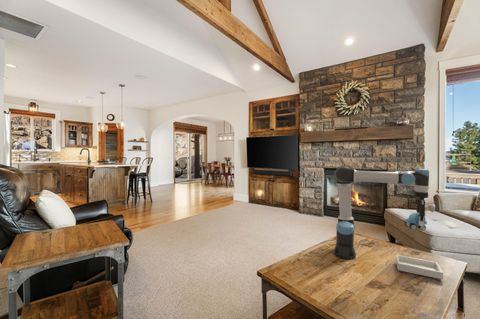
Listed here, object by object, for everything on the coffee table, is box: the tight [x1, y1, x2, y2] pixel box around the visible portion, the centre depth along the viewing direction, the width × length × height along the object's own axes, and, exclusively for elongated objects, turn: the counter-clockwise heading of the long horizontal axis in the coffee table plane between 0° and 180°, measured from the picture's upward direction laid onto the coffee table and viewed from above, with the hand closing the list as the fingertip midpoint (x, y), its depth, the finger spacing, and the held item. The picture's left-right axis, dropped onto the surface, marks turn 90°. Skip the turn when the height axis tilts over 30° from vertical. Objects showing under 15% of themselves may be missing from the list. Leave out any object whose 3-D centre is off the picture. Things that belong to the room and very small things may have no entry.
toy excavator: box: [404, 203, 436, 231], centre depth 163 cm, size 9×17×17 cm, turn 78°
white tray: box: [395, 254, 444, 282], centre depth 150 cm, size 22×15×6 cm
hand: (419, 223), depth 163 cm, fingers closed on toy excavator, 9 cm apart
